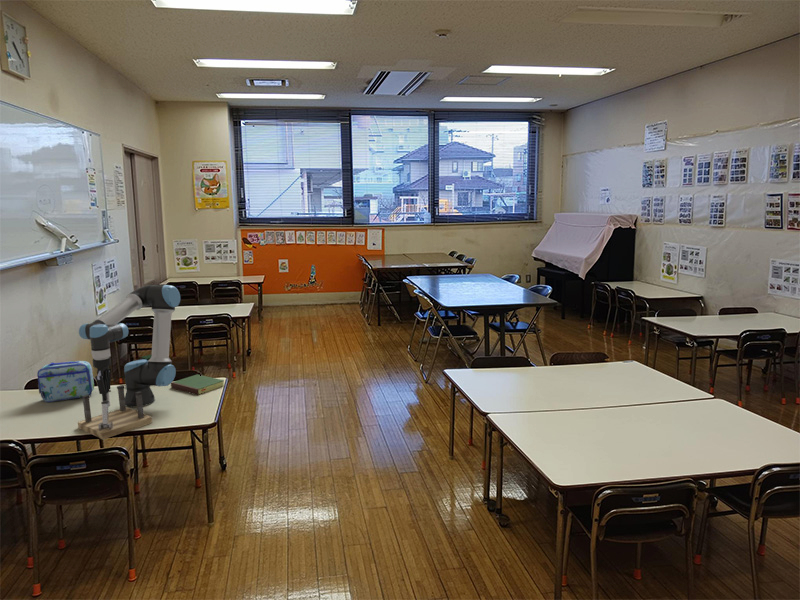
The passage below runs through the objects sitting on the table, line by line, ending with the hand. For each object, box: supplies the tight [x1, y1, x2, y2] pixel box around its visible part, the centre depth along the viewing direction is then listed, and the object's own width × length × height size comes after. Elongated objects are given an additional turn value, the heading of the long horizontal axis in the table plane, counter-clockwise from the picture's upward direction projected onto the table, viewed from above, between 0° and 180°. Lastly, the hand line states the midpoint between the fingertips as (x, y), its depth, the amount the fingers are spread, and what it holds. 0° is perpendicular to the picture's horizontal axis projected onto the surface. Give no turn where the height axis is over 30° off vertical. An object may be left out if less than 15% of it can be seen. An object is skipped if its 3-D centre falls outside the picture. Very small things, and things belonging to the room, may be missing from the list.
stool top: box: [77, 384, 153, 440], centre depth 269 cm, size 24×24×16 cm
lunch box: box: [36, 360, 95, 403], centre depth 309 cm, size 26×11×21 cm, turn 108°
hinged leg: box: [100, 401, 109, 429], centre depth 258 cm, size 13×3×2 cm
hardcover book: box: [170, 373, 225, 396], centre depth 326 cm, size 25×19×4 cm
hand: (106, 406), depth 261 cm, fingers closed
